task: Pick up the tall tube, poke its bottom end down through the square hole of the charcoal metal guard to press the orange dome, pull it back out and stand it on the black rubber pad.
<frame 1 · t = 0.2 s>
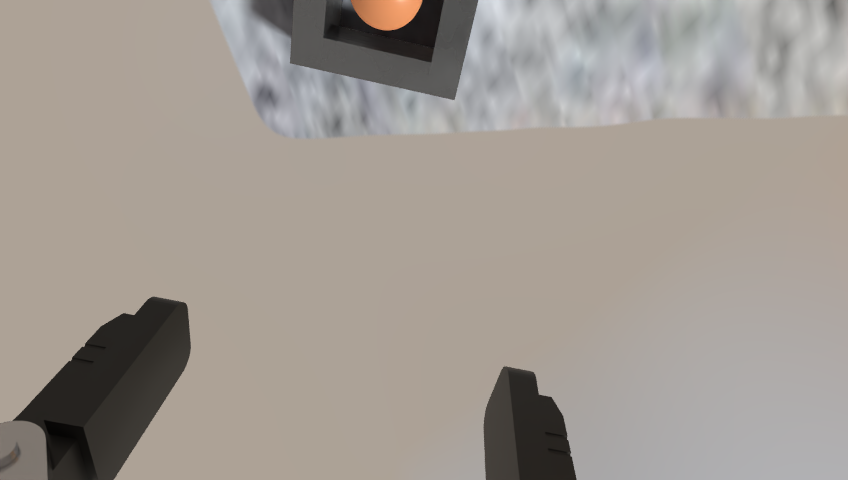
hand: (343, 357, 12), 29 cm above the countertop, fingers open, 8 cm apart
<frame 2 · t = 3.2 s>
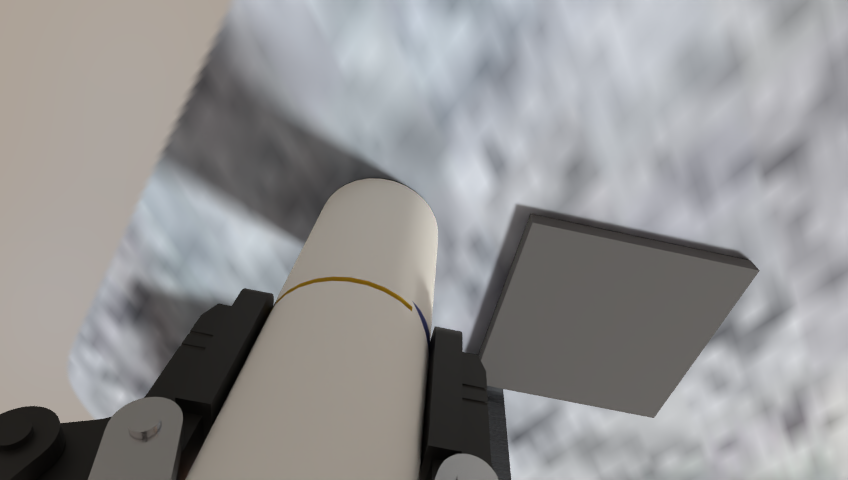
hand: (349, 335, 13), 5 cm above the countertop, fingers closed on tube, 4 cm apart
tube: (379, 229, 18), on the countertop, touching gripper
pad: (597, 321, 19), on the countertop
guard: (362, 439, 24), on the countertop
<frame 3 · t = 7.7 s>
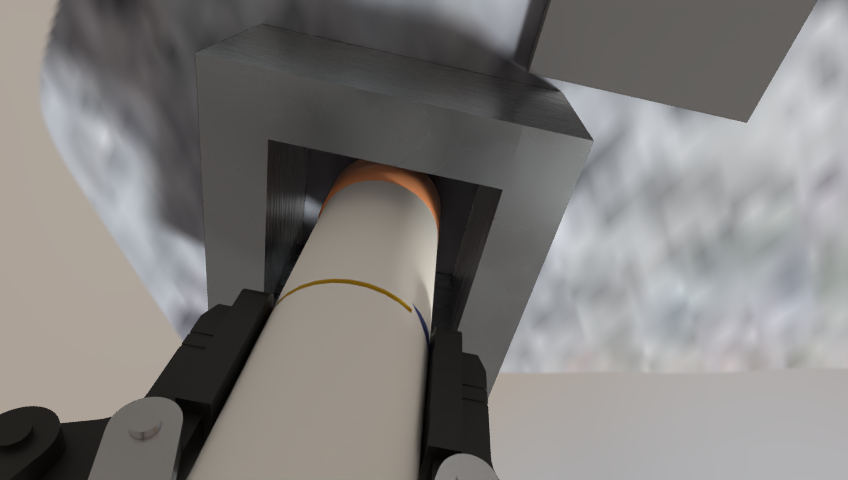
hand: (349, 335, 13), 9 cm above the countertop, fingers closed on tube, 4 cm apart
orange dome: (381, 219, 18), point 2 cm above the countertop, slide at 2.0 cm, touching tube
tube: (379, 231, 18), point 3 cm above the countertop, touching gripper, orange dome
guard: (389, 193, 20), on the countertop
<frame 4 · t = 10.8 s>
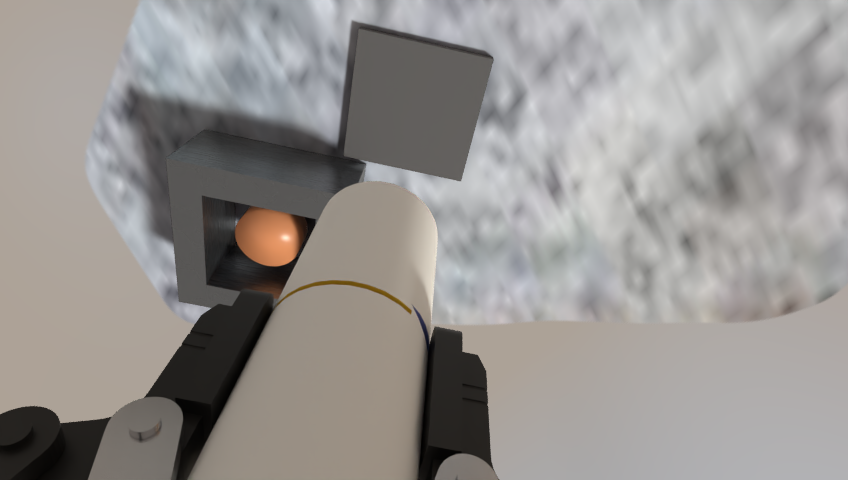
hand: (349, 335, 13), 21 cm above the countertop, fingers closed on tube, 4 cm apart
orange dome: (272, 232, 34), point 2 cm above the countertop, slide at 2.0 cm
tube: (379, 232, 18), point 15 cm above the countertop, touching gripper
pad: (414, 107, 31), on the countertop
guard: (282, 216, 36), on the countertop
when the fingers open (7 cm above the countertop, at t = 13.5 s): tube drops 1 cm, resting on pad.
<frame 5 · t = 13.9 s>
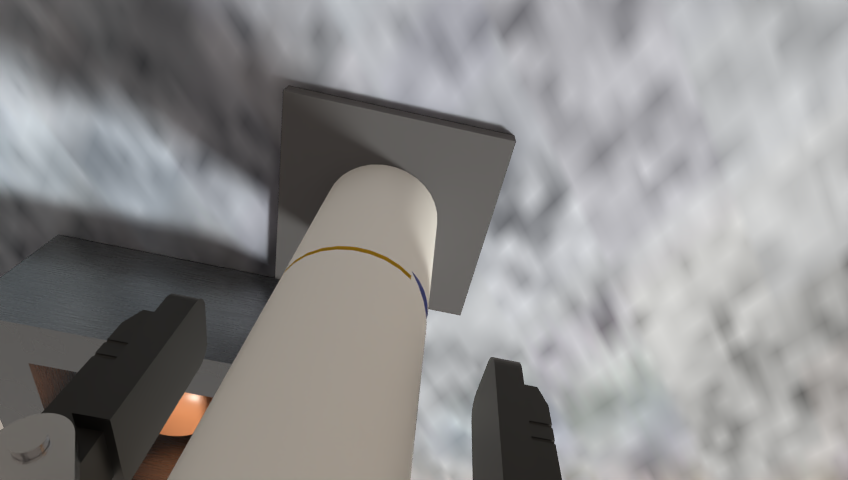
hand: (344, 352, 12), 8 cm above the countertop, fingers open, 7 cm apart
orange dome: (170, 386, 22), point 2 cm above the countertop, slide at 2.0 cm
tube: (381, 214, 19), resting on pad
pad: (385, 209, 19), on the countertop
guard: (194, 350, 24), on the countertop
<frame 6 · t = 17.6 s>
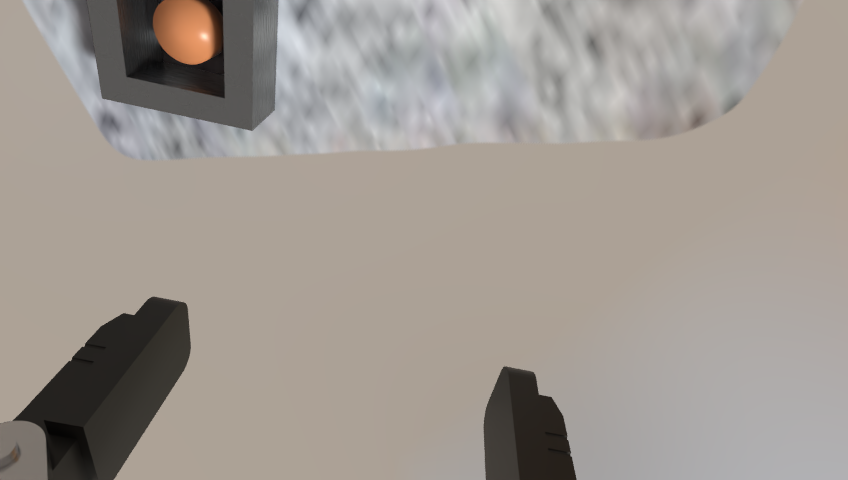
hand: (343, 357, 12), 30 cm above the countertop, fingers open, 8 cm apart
orange dome: (191, 29, 35), point 2 cm above the countertop, slide at 2.0 cm
guard: (205, 24, 37), on the countertop
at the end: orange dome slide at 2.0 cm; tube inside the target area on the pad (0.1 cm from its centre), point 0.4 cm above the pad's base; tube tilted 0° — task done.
